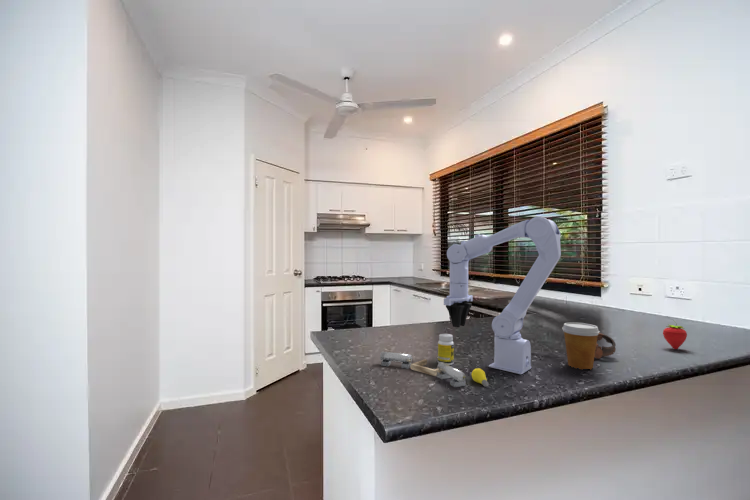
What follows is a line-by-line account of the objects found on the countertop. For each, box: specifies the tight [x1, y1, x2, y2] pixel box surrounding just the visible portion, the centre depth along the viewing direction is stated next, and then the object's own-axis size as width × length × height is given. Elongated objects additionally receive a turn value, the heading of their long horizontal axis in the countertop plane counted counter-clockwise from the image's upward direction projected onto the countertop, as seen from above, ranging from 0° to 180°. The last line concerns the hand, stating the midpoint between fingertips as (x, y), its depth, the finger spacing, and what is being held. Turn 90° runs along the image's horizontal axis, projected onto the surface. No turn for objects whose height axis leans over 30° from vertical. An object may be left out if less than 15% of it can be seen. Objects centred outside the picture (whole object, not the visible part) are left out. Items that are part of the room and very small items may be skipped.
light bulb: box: [471, 367, 489, 388], centre depth 90 cm, size 3×6×4 cm, turn 14°
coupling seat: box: [410, 358, 441, 377], centre depth 100 cm, size 8×7×1 cm
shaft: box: [436, 362, 467, 388], centre depth 91 cm, size 9×3×4 cm, turn 22°
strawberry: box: [662, 320, 688, 350], centre depth 125 cm, size 6×8×10 cm
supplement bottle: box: [437, 333, 455, 366], centre depth 107 cm, size 5×5×8 cm
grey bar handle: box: [379, 351, 413, 370], centre depth 104 cm, size 9×3×4 cm, turn 72°
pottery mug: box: [594, 332, 616, 360], centre depth 116 cm, size 12×10×8 cm
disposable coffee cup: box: [561, 322, 601, 370], centre depth 104 cm, size 10×10×12 cm
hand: (458, 326), depth 112 cm, fingers open, 2 cm apart
